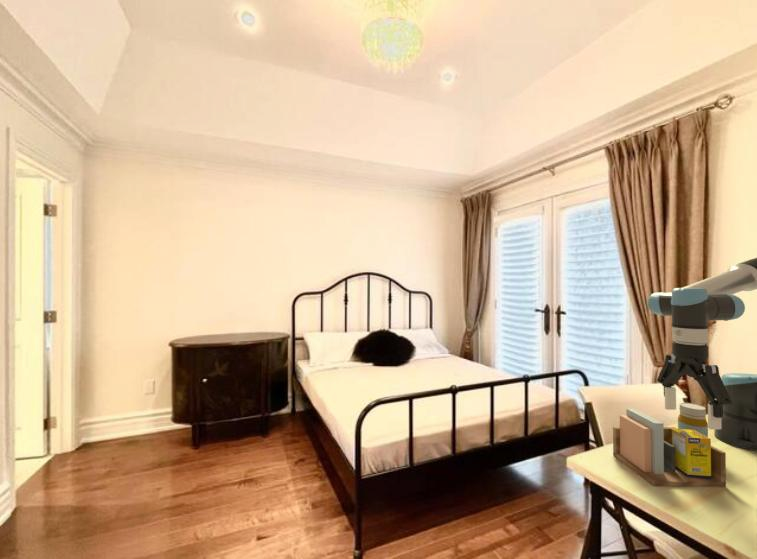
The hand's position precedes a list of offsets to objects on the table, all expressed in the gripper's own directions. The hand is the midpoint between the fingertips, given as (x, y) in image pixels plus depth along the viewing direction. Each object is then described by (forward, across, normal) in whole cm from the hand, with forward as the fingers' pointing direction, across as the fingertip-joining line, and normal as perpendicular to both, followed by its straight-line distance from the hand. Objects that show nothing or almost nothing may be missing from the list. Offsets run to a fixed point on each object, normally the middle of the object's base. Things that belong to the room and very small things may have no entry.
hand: (691, 418), depth 95 cm
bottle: (+17, -13, +12) cm, 25 cm away
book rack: (+16, -3, -5) cm, 17 cm away
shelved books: (+15, -5, -11) cm, 19 cm away
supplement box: (+15, 0, 0) cm, 15 cm away
